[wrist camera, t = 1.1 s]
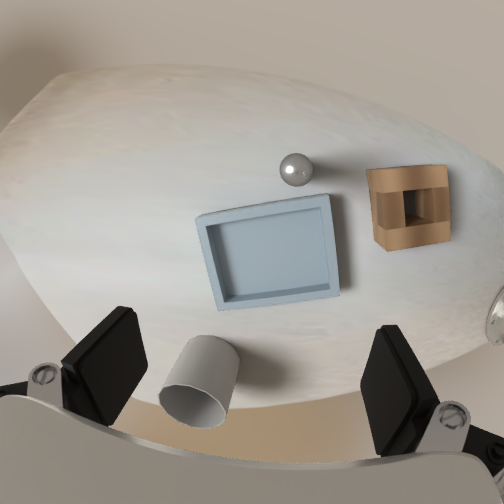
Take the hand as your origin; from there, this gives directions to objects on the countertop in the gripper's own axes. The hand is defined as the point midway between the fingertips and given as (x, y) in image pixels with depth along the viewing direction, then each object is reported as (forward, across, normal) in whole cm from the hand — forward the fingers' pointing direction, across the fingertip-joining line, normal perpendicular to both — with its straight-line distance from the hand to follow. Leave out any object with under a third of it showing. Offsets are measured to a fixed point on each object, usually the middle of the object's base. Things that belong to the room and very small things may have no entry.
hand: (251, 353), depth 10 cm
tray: (+22, 0, +3) cm, 22 cm away
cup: (+22, +8, +19) cm, 30 cm away
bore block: (+21, -15, -4) cm, 26 cm away
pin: (+22, -2, -6) cm, 23 cm away
